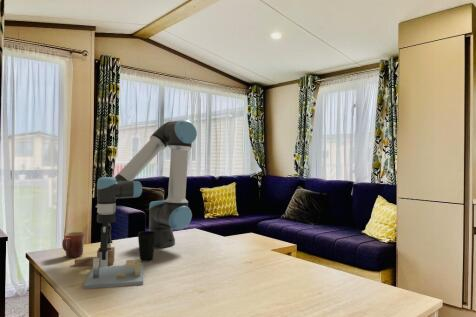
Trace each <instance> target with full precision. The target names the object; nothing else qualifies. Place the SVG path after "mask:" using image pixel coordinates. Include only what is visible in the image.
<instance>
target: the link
mask: <svg viewBox="0 0 476 317" xmlns="http://www.w3.org/2000/svg"><path fill="white" fill-rule="evenodd" d="M102 249H104V248H102ZM99 250H100V247H98V249H97V251H96V256H88V257H87V256H85V257H76V258H75V259H74V267H80V266H81V267H82V266H93V258H100V252H99ZM107 251H108V260H107V266H114V262H115V246H111V247H107ZM99 267H100V260H99Z"/></svg>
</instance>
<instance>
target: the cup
mask: <svg viewBox="0 0 476 317" xmlns="http://www.w3.org/2000/svg"><path fill="white" fill-rule="evenodd" d="M137 240H138V241H137V242H138V249H139V250H138V251H139V259H141V262H151V261H153V259H154V251H155V247H154V243H155V232H153V231H149V230H145V231H139V232H137Z"/></svg>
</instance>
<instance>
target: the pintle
mask: <svg viewBox="0 0 476 317" xmlns="http://www.w3.org/2000/svg"><path fill="white" fill-rule="evenodd" d="M99 260H100V258H93V265H92V268H93V278H99V267H100V266H99Z"/></svg>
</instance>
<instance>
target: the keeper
mask: <svg viewBox="0 0 476 317" xmlns="http://www.w3.org/2000/svg"><path fill="white" fill-rule="evenodd" d="M141 264H142V261H141V259H140V258H139V259H136V258H135V259H126V261H125V264H124V265H125V268H134V267H135V277H139V276H141ZM121 278H125V274H117V279H121Z"/></svg>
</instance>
